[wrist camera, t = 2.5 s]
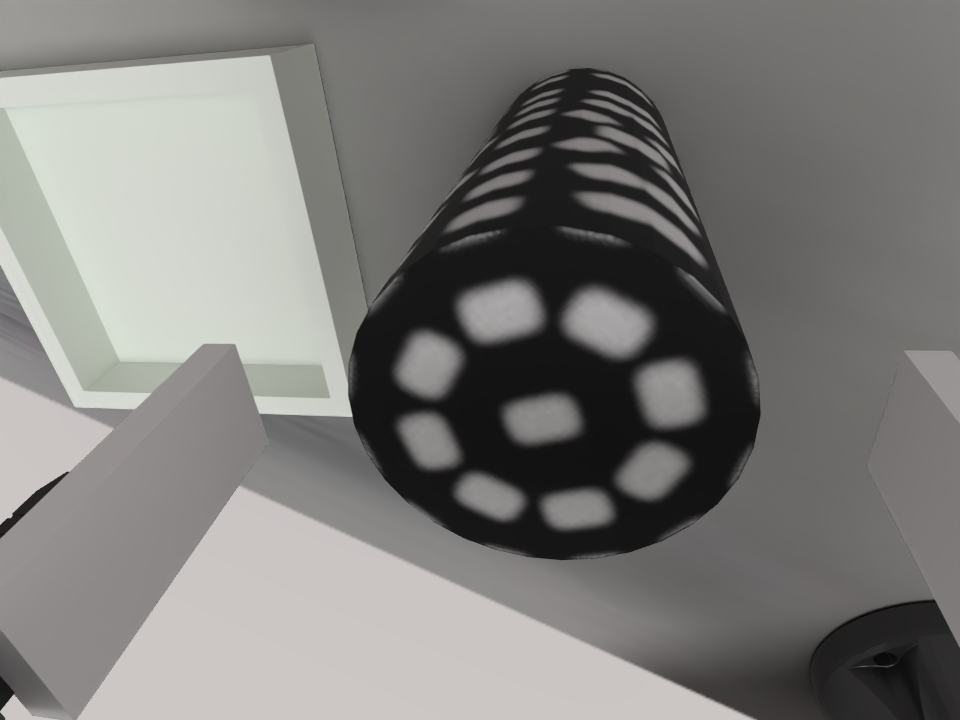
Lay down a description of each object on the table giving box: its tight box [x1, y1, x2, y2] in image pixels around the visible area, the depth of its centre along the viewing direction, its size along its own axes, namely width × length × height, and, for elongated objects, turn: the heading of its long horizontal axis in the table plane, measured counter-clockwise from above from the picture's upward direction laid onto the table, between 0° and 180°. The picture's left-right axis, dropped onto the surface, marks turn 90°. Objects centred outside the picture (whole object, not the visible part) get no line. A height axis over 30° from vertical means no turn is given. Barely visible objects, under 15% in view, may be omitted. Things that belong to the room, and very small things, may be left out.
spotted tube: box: [348, 68, 761, 560], centre depth 21 cm, size 8×8×20 cm
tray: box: [0, 44, 368, 417], centre depth 33 cm, size 18×18×4 cm
